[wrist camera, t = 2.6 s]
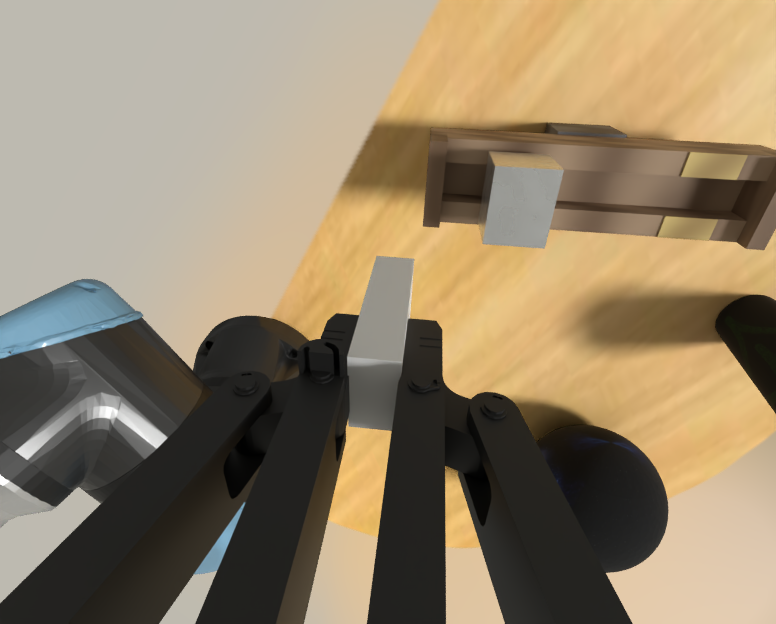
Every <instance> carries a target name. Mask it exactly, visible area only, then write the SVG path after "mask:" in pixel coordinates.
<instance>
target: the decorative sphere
mask: <svg viewBox="0 0 776 624" xmlns="http://www.w3.org/2000/svg"><path fill="white" fill-rule="evenodd" d="M537 445H538V447H539V449H540V451H541V452H542V454H543V456H544V458H545V460H546V462H547V464H548V466H549V468H550V469H551V471H552V473H553V475H554V477H555V479H556V481H557V483H558V484H559V486H560V488H561V490H562V492H563V494H564V496H565V498H566V500H567V501H568V503H569V505H570V507H571V509H572V511H573V513H574V515H575V516H576V518H577V520H578V522H579V524H580V526H581V528H582V530H583V532H584V533H585V535H586V537H587V539H588V541H589V543H590V545H591V547H592V548H593V550H594V552H595V554H596V556H597V558H598V560H599V562H600V563H601V565H602V567H603V569H604V571H605V573H608V572H618V571H622V570H626V569H629V568H632V567H634V566H636V565H638V564H640V563H641V562H643V561H644V560H646V559H647V558H648V557H649V556H650V555H651V554H652V553H653V552H654V551H655V549H656V548H657V547H658V545H659V544H660V542H661V540H662V538H663V536H664V533H665V530H666V526H667V521H668V501H667V495H666V491H665V488H664V485H663V482H662V480H661V478H660V476H659V473H658V471H657V470H656V468H655V467H654V465H653V464H652V462H651V461H650V460H649V458H648V457H647V456H646V455H645V454H644V453H643V452H642V451H641V450H640V449H639V448H638V447H637V446H636V445H634V444H633V443H632V442H630V441H629V440H627V439H626V438H624V437H622V436H621V435H619V434H617V433H615V432H612V431H610V430H607V429H604V428H600V427H596V426H589V425H574V426H567V427H563V428H560V429H557V430H554V431H552V432H551V433H549V434H547V435H545V436H544V437H543V438H541V439H540V440H539V441H538V442H537Z"/></svg>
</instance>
